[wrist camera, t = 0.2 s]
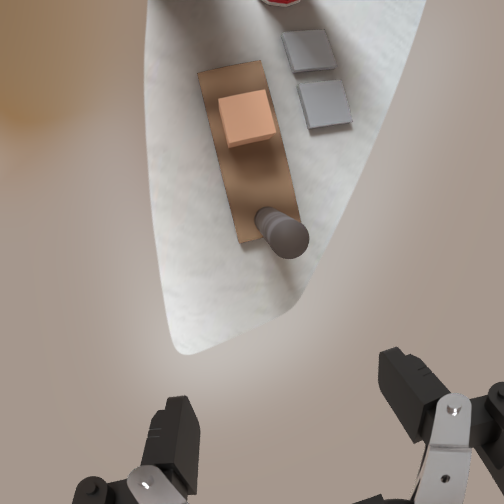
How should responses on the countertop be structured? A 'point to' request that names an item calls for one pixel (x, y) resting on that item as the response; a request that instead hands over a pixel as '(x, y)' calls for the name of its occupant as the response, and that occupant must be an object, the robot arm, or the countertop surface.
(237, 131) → the terracotta block
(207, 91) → the pull strip
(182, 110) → the countertop surface
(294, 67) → the broken strip
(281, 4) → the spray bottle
